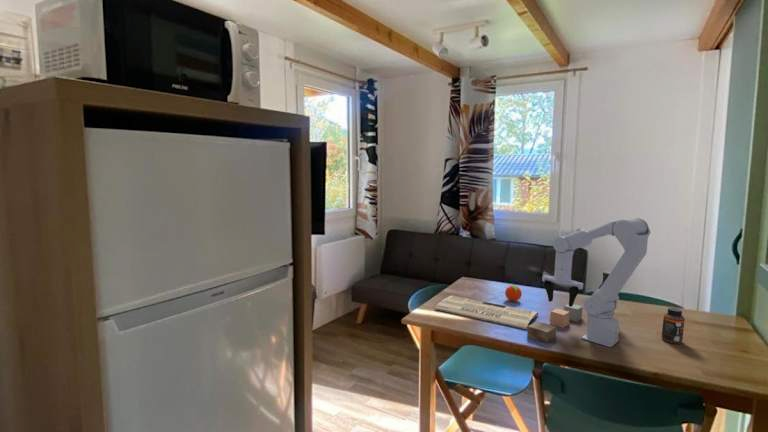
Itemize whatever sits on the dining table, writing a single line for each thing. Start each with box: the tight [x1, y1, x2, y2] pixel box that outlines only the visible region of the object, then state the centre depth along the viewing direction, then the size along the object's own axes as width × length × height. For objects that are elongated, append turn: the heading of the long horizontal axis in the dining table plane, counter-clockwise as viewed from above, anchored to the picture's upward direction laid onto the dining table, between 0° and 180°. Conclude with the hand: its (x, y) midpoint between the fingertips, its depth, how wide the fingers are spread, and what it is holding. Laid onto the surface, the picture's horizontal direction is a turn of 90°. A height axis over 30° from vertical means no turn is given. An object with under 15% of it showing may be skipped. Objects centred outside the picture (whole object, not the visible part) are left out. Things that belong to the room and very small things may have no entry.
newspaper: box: [434, 295, 539, 330], centre depth 168 cm, size 37×19×3 cm, turn 57°
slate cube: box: [563, 303, 584, 322], centre depth 164 cm, size 5×5×5 cm
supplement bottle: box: [661, 306, 686, 344], centre depth 143 cm, size 6×6×11 cm
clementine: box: [504, 285, 523, 302], centre depth 183 cm, size 8×7×7 cm
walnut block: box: [526, 320, 557, 344], centre depth 145 cm, size 7×7×4 cm
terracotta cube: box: [549, 308, 570, 329], centre depth 158 cm, size 5×5×5 cm
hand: (560, 303), depth 157 cm, fingers open, 7 cm apart
